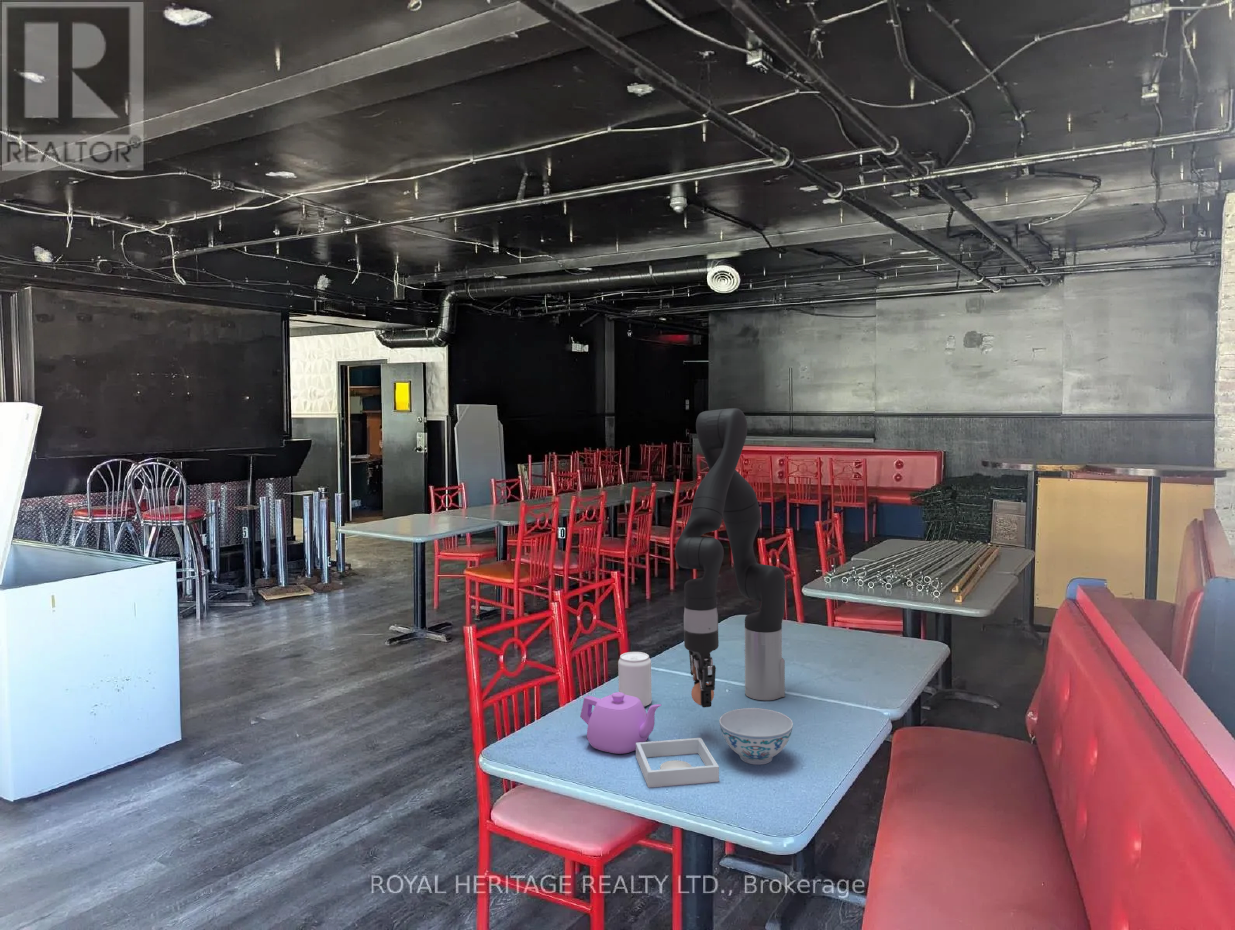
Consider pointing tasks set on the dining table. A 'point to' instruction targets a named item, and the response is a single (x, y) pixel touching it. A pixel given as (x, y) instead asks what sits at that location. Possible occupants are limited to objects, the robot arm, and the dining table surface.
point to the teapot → (617, 722)
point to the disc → (674, 764)
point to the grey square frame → (677, 774)
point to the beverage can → (635, 676)
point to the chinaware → (756, 733)
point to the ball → (699, 693)
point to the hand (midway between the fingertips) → (702, 701)
